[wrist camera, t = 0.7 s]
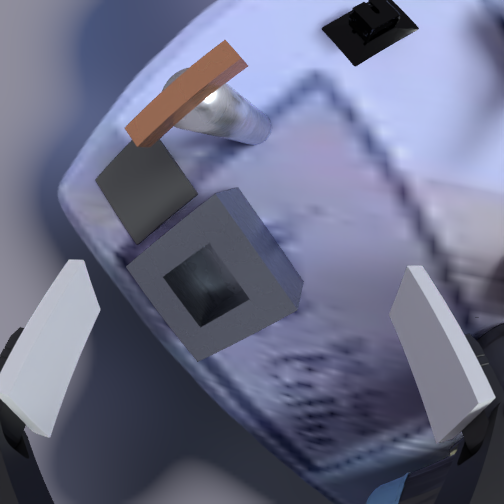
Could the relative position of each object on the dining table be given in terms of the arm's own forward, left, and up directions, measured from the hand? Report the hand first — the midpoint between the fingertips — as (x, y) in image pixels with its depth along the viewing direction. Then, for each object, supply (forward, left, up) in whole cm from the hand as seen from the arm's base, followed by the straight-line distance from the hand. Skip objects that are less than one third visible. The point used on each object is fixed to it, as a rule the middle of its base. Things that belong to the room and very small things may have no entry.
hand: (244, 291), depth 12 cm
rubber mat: (+12, +12, -21) cm, 27 cm away
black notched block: (+12, -19, -22) cm, 31 cm away
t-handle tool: (+9, -2, -21) cm, 23 cm away
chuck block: (-1, +9, -21) cm, 23 cm away
